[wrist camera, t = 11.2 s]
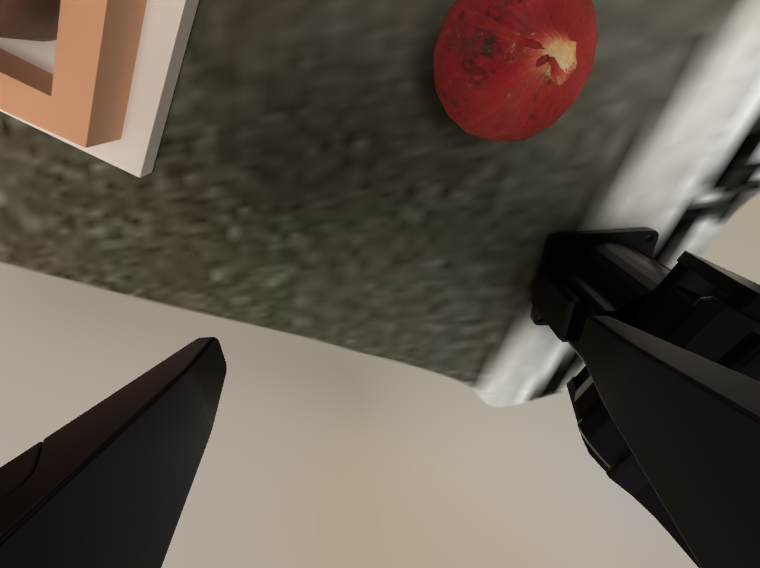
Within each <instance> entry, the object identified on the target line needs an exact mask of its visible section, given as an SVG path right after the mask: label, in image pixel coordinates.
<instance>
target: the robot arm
mask: <svg viewBox="0 0 760 568" xmlns="http://www.w3.org/2000/svg"><path fill="white" fill-rule="evenodd" d="M648 235H650V236H649V237H648V238H647V239H646V237H647V236H648ZM658 236H659V234H658V232H656V231H655V230H653V229H651V228H638V229H618V230H598V231H578V232H558V233H553V234H551V235H550V236H549V237H548V238H547V241H546V245H545V250H544V255H543V260H542V265H541V267H540V268H539V269H538V272H537V277H536V282H535V287H534V292H533V297H532V303H533V309H532V314H531V319H532V321H533V322H534V324H536V325H549V326H550V328H551V329H552V330H553V332H554V333H555V334H556V336H557V337H558V338H559V339H560V340H561V341H562V342H568V343H569V344H570V345H571V346H572V348H573V349H574V350H575V352H576V353H577V354H578V355H579V357H580V358H581V359H582V361H583V362H584V363H585V364H586V366H585V367H584V368H583V369H582V370H581V371H580V372H579V373H578V375H577V376H576V377H572V378H571V379H570V380H569V382H568V383H567V388H568V391H569V394H570V398H571V401H572V404H573V408H574V412H575V415H576V419H577V422H578V428H579V431H580V433H581V436H582V439H583V441H584V443H585V445H586V447H587V449H588V452H589V453H590V455H591V456H592V457H593V458H594V459H595V460H596V461H597V463H598V464H599V465H600V466H601V467H602V468H603V469H604V470H605V471H606V473H607V475H608V476H609V478H610V479H612V480H613V481H614V482H615V483H617V484H618V485H619V486H621V487H622V488H623V489H624V490H626V491H627V492H628V493H629V494H631V495H632V496H633V497H634V498H635V499H636V500H637V501H638V502H640V503H641V504H642V505H643V506H644V507H645V508H646V509H647V510H648V511H649V512H650V513H651V514H652V515H653V516H654V517H655V518H656V519H657V520H658V521H659V522H660V523H661V525H662V526H663V527H664V528H665V529H666V530H667V531H668V532H669V533H670V535H671V536H672V537H673V538H674V539H675V540H676V542H677V543H678V544H679V545H680V546H681V548H682V549H683V550H684V551H685V552H686V553H687V555H688V556H689V557H690V558H691V559H692V560H693V562H694V563H695V564H696V565H697V566H698V567H699V568H760V285H759V284H756V283H754V282H752V281H750V280H748V279H746V278H744V277H742V276H739V275H737V274H735V273H733V272H731V271H729V270H726V269H724V268H722V267H720V266H717V265H715V264H713V263H711V262H709V261H707V260H705V259H702V258H700V257H698V256H696V255H694V254H691V253H689V252H687V251H684V253H683V254H682V255H681V256H680V257H679V258H678V259H677V260H676V261H678V263H677V264H676V265H675V266H674V267H673V269H672V270H671V269H669V268H668V267H666V266H665V265H663V264H661V263H660V262H658V261H657V260H655V259H653V258H652V257H651V256H652V254H653V251H654V248H655V245H656V243H657V240H658ZM557 239H559V241H558V243H556V244H553V243H554V241H555V240H557ZM540 316H542V317H541V318H540V319H538V317H540ZM225 375H226V361H225V358H224V355H223V352H222V349H221V346H220V343H219V341H218V339H217V338H215V337H207V338H198V339H196V340H195V341H193V342H191V343H190V344H188V345H187V346H185V347H184V348H182V349H181V350H179V351H178V352H176V353H175V354H173V355H172V356H170V357H169V358H167V359H166V360H164V361H163V362H161V363H160V364H158V365H156V366H155V367H153V368H152V369H151V370H149V371H147V372H146V373H144V374H143V375H141V376H140V377H138V378H137V379H135V380H134V381H132V382H131V383H129V384H128V385H126V386H124V387H123V388H121V389H120V390H118V391H117V392H115V393H114V394H112V395H111V396H109V397H108V398H106V399H105V400H103V401H102V402H100V403H98V404H97V405H96V406H94V407H92V408H91V409H89V410H88V411H86V412H85V413H83V414H82V415H80V416H79V417H77V418H76V419H74V420H73V421H71V422H70V423H68V424H66V425H65V426H63V427H62V428H61V429H59V430H57V431H56V432H54V433H53V434H51V435H50V436H49V437H47V438H45V439H44V441H43V442H39V443H37V444H36V445H34V446H33V447H31V448H30V449H28V450H27V451H25V452H24V453H22V454H21V455H19V456H18V457H16V458H15V459H13V460H11V461H10V462H8V463H7V464H5V465H4V466H2V467H0V568H161V566H162V564H163V561H164V558H165V555H166V553H167V550H168V547H169V545H170V542H171V539H172V537H173V534H174V531H175V529H176V526H177V523H178V520H179V518H180V515H181V512H182V510H183V507H184V504H185V502H186V499H187V496H188V493H189V491H190V488H191V485H192V483H193V480H194V477H195V475H196V472H197V469H198V466H199V464H200V461H201V458H202V455H203V453H204V449H205V448H206V444H207V442H208V439H209V436H210V434H211V430H212V427H213V423H214V420H215V416H216V411H217V408H218V403H219V399H220V395H221V391H222V387H223V383H224V379H225Z"/></svg>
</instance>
